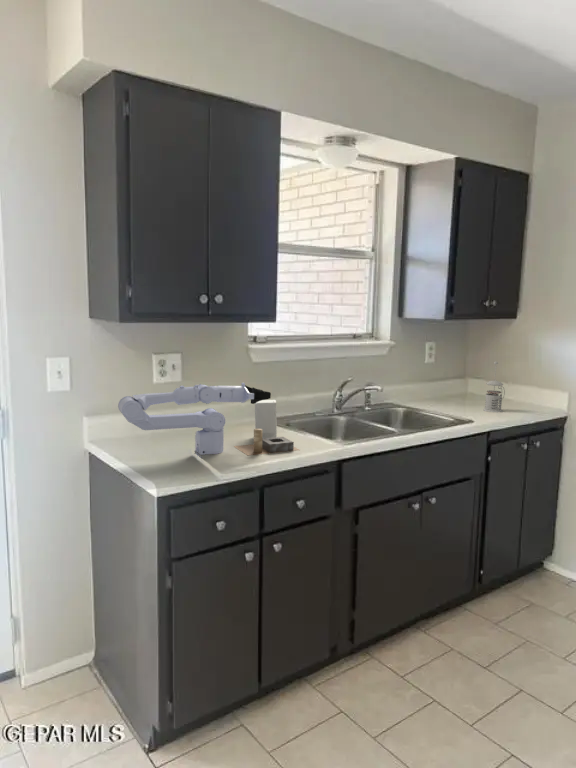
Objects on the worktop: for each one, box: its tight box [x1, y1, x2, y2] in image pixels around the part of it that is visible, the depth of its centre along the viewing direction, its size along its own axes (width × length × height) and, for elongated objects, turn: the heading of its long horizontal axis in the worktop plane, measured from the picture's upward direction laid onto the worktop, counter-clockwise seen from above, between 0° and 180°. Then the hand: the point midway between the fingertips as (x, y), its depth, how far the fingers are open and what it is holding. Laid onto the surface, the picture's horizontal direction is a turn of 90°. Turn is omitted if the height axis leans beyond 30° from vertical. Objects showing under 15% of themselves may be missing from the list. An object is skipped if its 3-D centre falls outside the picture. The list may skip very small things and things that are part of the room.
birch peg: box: [253, 428, 262, 453], centre depth 205 cm, size 3×3×8 cm
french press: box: [482, 361, 506, 413], centre depth 298 cm, size 10×12×25 cm
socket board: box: [233, 436, 300, 456], centre depth 211 cm, size 20×14×4 cm
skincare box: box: [254, 399, 278, 439], centre depth 226 cm, size 8×7×16 cm
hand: (266, 394), depth 210 cm, fingers open, 7 cm apart
